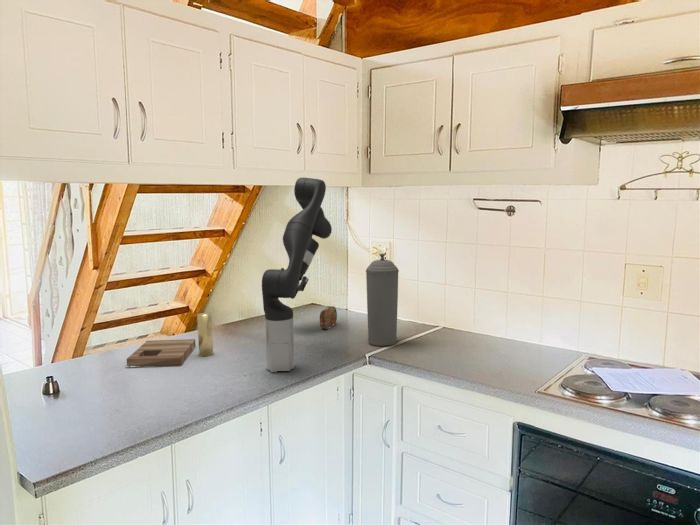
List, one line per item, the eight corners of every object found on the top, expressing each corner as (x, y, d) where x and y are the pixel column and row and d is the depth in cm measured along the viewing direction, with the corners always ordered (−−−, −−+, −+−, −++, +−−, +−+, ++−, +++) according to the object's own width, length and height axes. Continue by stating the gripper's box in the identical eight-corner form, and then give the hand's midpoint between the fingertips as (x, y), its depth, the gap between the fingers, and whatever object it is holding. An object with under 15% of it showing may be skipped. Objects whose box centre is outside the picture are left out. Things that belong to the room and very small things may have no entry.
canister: (369, 337, 205) (368, 251, 201) (400, 339, 203) (400, 251, 198) (363, 346, 193) (362, 255, 188) (396, 348, 190) (396, 255, 186)
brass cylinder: (212, 356, 184) (210, 315, 182) (197, 356, 183) (195, 316, 181) (214, 351, 188) (212, 312, 186) (200, 352, 188) (198, 312, 186)
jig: (181, 365, 173) (180, 357, 173) (127, 367, 172) (126, 359, 172) (195, 346, 195) (195, 339, 195) (147, 348, 194) (146, 340, 193)
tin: (325, 331, 215) (325, 312, 214) (318, 330, 216) (318, 311, 215) (337, 323, 230) (337, 304, 228) (331, 322, 231) (330, 304, 229)
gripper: (284, 253, 216) (266, 286, 211) (310, 261, 208) (292, 296, 204) (293, 260, 222) (275, 293, 218) (318, 269, 214) (300, 303, 210)
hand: (283, 294), depth 211 cm, fingers open, 8 cm apart
